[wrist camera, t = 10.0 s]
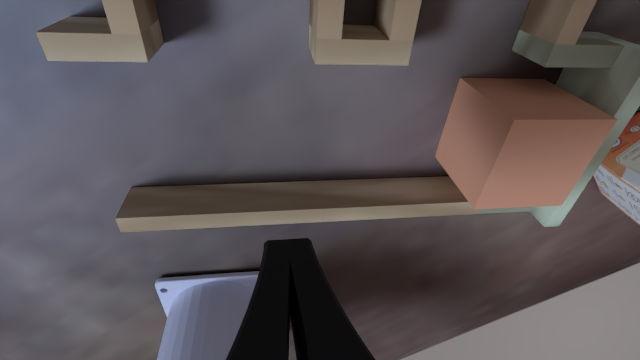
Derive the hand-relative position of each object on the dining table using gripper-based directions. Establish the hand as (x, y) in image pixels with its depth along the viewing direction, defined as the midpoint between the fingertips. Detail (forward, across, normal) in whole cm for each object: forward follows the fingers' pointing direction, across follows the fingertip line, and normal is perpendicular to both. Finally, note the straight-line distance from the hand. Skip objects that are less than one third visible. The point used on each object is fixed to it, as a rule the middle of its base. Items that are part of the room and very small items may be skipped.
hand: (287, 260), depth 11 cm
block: (+10, -12, 0) cm, 15 cm away
